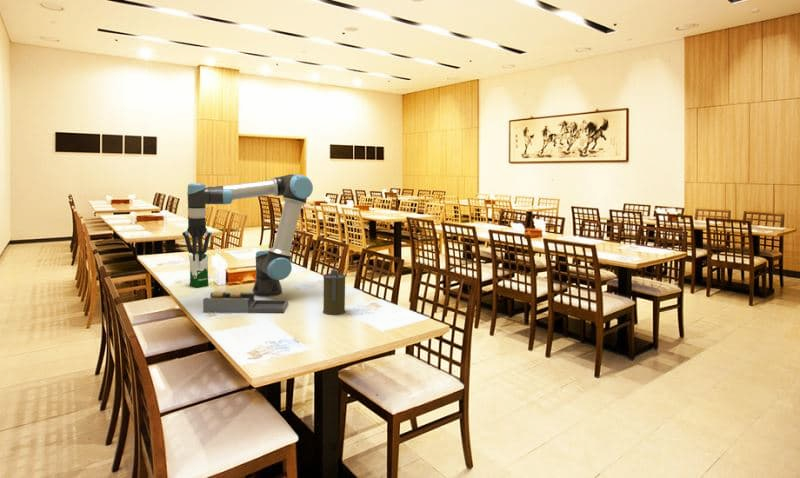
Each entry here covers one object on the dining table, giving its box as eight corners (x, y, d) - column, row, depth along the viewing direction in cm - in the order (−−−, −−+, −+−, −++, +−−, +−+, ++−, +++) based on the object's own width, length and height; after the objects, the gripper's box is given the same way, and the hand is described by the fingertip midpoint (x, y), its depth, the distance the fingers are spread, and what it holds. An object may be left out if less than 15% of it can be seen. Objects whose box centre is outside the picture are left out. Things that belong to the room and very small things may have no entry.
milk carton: (196, 288, 272) (195, 252, 269) (187, 286, 277) (186, 250, 274) (211, 286, 279) (210, 250, 276) (201, 283, 284) (200, 248, 281)
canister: (323, 308, 240) (323, 267, 237) (345, 308, 241) (346, 268, 238) (322, 315, 229) (322, 272, 226) (344, 315, 230) (345, 272, 227)
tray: (288, 304, 245) (288, 300, 245) (283, 313, 230) (283, 308, 230) (254, 304, 244) (254, 299, 244) (247, 312, 229) (247, 308, 229)
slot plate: (254, 304, 244) (254, 292, 243) (248, 312, 230) (248, 299, 229) (212, 304, 242) (212, 292, 241) (203, 312, 228) (203, 299, 227)
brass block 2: (242, 301, 238) (242, 291, 237) (240, 303, 234) (239, 294, 233) (232, 300, 238) (232, 291, 237) (230, 303, 233) (230, 294, 233)
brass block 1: (225, 300, 237) (224, 291, 237) (222, 303, 233) (222, 293, 232) (215, 300, 237) (215, 291, 236) (212, 303, 233) (212, 293, 232)
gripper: (213, 217, 233) (214, 266, 236) (185, 216, 232) (186, 266, 235) (209, 218, 226) (209, 269, 229) (179, 217, 225) (180, 269, 228)
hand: (197, 268), depth 232 cm, fingers closed
